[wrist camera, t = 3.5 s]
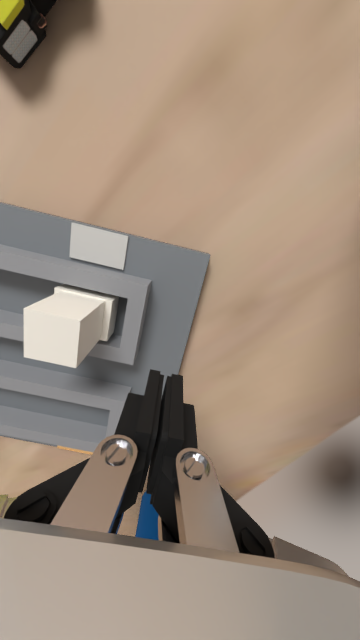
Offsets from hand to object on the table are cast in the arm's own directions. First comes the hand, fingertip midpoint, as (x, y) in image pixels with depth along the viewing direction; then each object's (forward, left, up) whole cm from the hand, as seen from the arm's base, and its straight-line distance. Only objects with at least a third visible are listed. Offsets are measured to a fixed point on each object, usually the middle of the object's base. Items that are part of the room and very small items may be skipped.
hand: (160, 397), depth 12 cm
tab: (+7, -1, -8) cm, 10 cm away
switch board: (+14, +4, -9) cm, 17 cm away
